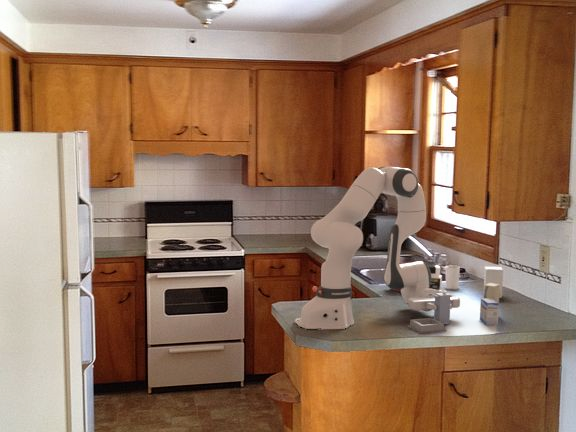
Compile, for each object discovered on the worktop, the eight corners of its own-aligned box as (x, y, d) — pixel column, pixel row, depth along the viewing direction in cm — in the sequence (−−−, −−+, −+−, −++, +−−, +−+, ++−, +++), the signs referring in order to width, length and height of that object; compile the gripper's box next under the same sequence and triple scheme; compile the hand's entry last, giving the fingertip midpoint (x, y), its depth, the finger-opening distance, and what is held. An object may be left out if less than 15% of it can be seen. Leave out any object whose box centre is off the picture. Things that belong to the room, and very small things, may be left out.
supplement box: (502, 298, 311) (503, 269, 310) (484, 297, 312) (485, 269, 311) (500, 294, 318) (501, 266, 317) (483, 293, 320) (484, 266, 318)
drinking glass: (460, 287, 333) (461, 266, 332) (457, 289, 327) (458, 268, 326) (446, 285, 336) (446, 265, 335) (443, 288, 330) (443, 267, 329)
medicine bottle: (423, 292, 322) (424, 266, 321) (426, 289, 329) (426, 263, 328) (439, 293, 320) (440, 267, 319) (441, 290, 327) (442, 264, 326)
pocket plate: (419, 333, 255) (419, 326, 255) (406, 325, 265) (406, 319, 265) (447, 331, 258) (447, 324, 258) (433, 323, 268) (433, 317, 268)
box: (488, 314, 282) (489, 282, 281) (499, 316, 280) (500, 284, 278) (482, 316, 278) (483, 284, 277) (493, 318, 276) (494, 286, 274)
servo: (436, 324, 264) (437, 293, 263) (431, 321, 268) (432, 290, 267) (452, 323, 266) (453, 292, 265) (446, 320, 270) (447, 289, 269)
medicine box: (479, 320, 273) (480, 298, 272) (490, 320, 274) (491, 298, 273) (486, 325, 266) (487, 302, 265) (498, 325, 266) (499, 302, 265)
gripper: (402, 292, 276) (418, 300, 262) (449, 290, 281) (467, 297, 268) (401, 308, 276) (417, 317, 263) (448, 305, 282) (467, 314, 269)
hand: (443, 307), depth 266 cm, fingers closed on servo, 4 cm apart
